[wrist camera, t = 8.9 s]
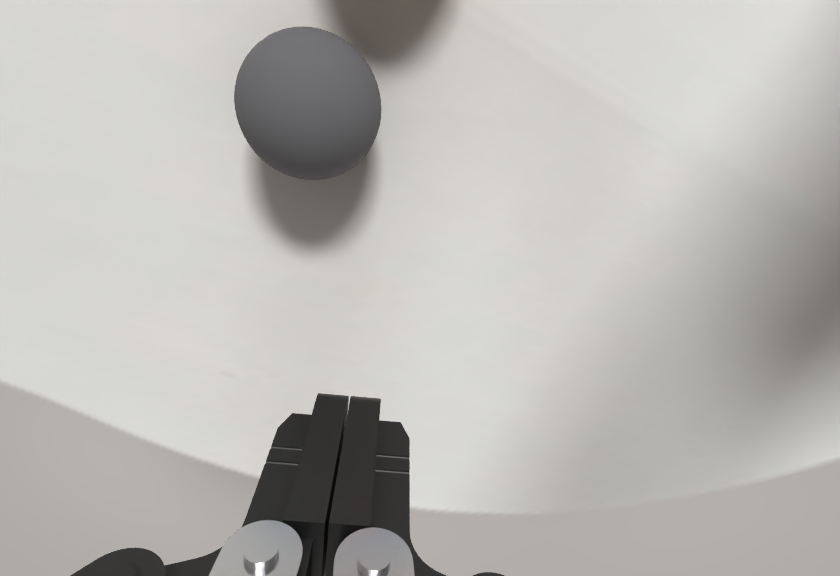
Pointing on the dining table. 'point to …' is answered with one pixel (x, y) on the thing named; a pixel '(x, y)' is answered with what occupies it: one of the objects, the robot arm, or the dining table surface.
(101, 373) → the dining table surface
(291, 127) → the gray ball
